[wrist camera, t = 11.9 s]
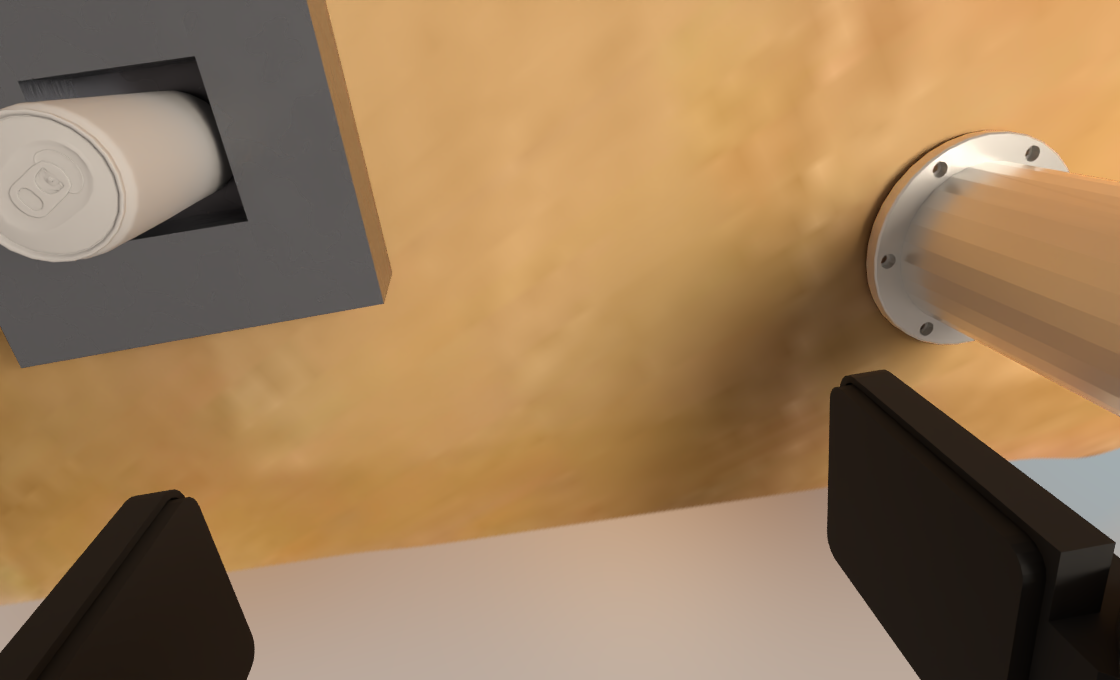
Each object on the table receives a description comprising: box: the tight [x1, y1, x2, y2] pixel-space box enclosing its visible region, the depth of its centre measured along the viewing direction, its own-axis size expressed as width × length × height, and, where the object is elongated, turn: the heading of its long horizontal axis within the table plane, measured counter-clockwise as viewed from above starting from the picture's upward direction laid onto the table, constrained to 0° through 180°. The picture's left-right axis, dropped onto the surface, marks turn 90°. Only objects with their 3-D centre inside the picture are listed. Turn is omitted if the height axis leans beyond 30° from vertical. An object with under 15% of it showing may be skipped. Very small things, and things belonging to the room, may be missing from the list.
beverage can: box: [0, 91, 233, 262], centre depth 26 cm, size 5×5×12 cm
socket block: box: [0, 0, 392, 368], centre depth 30 cm, size 16×16×5 cm
